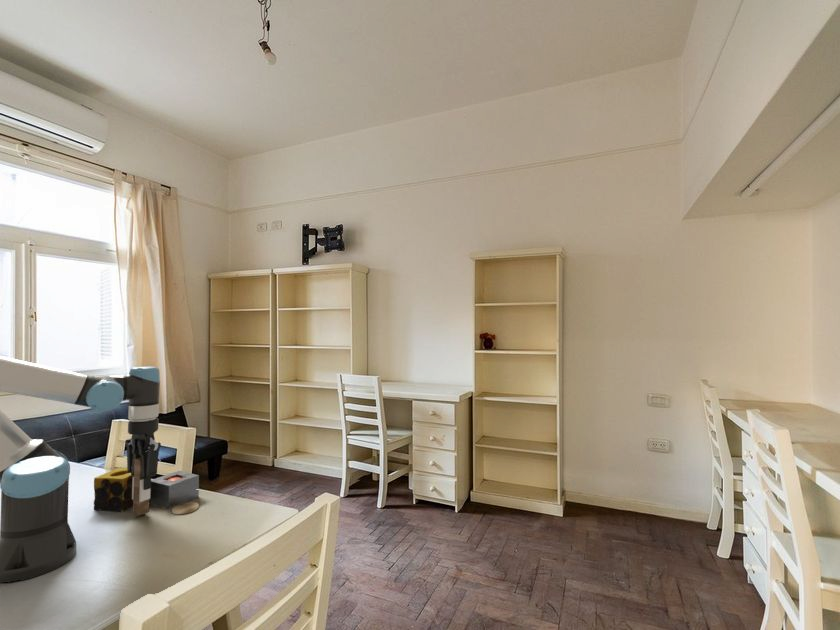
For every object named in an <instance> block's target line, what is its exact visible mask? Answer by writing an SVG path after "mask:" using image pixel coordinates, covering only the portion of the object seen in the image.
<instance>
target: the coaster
mask: <svg viewBox="0 0 840 630" xmlns="http://www.w3.org/2000/svg"><path fill="white" fill-rule="evenodd" d="M198 509H199V503H198V502H185V503H182V504H180V505H177V506H175V507H172V508H171V512H172V514H173V515H177V516H179V515H186V514H190V513H193V512H195V511H197V510H198Z"/></svg>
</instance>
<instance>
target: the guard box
mask: <svg viewBox="0 0 840 630" xmlns="http://www.w3.org/2000/svg"><path fill="white" fill-rule="evenodd" d="M175 477H180V478H181V479H178V480H175V481H172V482H171V481H167V480H168V479H171V478H175ZM196 489H199V490H196ZM199 495H200V475H199V474H195V473H192V472H187V471H181V470H177V471H174V472H171V473H168V474H166V475H165V474H164V475H163V476H159V477H156V478H153V479H151V491H150V499H149V505H153V506H156V507H161V508H164V509H166V510H167V509H168V510H169V509H173V508H174V507H176V506H178V505H180V504H184V503H188V502H189V501H192V500H194V499H196V498H199Z"/></svg>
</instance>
